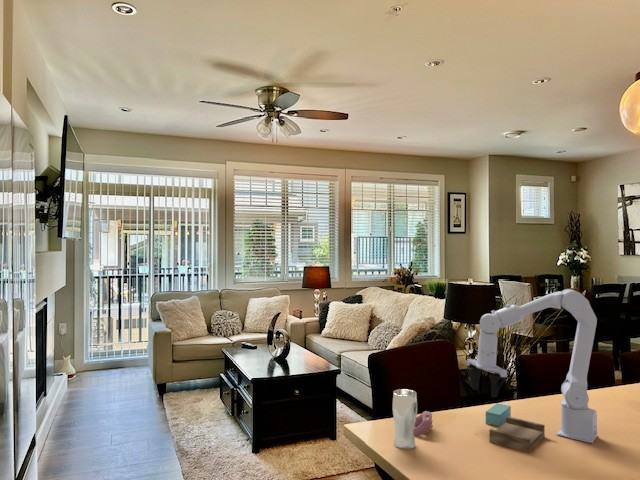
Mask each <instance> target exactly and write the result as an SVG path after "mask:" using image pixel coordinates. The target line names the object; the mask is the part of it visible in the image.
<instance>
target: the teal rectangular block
mask: <svg viewBox="0 0 640 480" xmlns="http://www.w3.org/2000/svg"><path fill="white" fill-rule="evenodd" d="M511 407H512V406H511V405H508V404H502V403H498V402H497V403H495V404H494V405H493V406H491V407H490V408H489V409H488V410H486V411H485V424H487V423H488V425H491V424H492V425H491V426H495V425H496V426H495V427H498V428H499V427H500V426H502V425H503V424H504V423H506V417H507V416H508V417H512V415H511V414H512V413H511V411H512V409H511Z"/></svg>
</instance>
